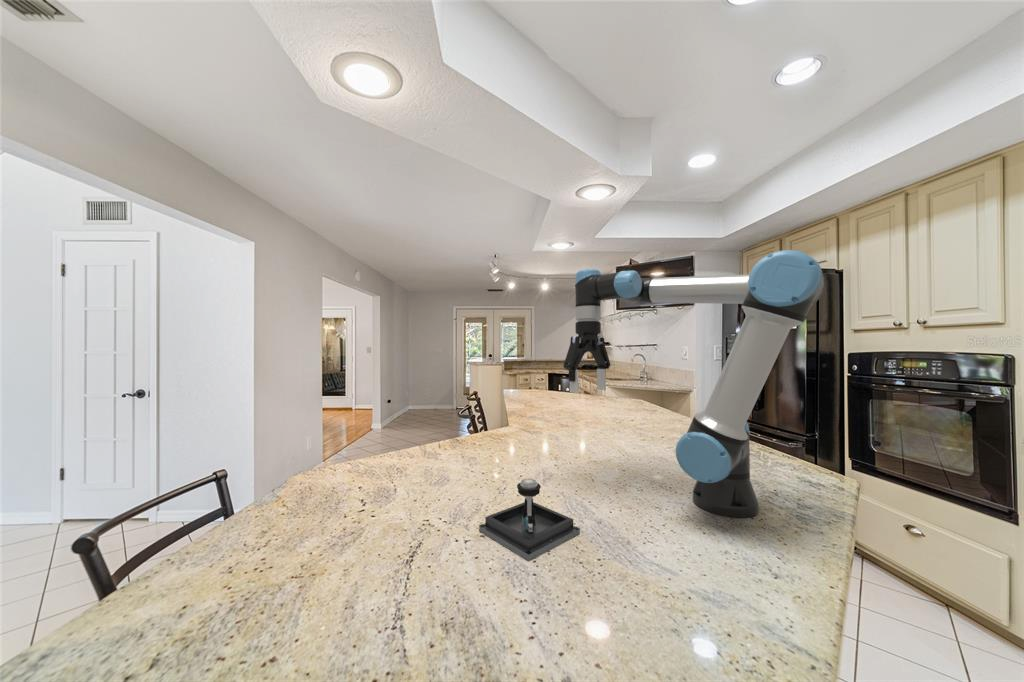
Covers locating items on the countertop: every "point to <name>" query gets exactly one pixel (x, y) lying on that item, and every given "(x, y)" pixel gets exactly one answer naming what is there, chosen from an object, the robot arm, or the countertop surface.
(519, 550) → the grey metal square tray
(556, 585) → the countertop surface
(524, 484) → the push button
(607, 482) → the countertop surface
